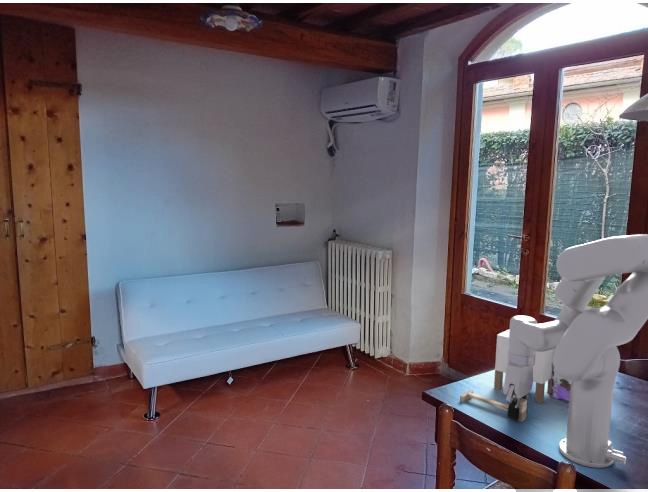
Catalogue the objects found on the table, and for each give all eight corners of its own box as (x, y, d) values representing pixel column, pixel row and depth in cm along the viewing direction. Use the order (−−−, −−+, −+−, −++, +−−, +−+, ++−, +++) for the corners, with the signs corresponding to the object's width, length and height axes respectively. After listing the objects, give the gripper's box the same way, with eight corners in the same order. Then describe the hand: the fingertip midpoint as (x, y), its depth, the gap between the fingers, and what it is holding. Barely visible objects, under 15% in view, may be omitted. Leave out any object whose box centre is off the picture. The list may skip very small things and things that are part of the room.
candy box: (550, 397, 159) (553, 349, 157) (556, 391, 164) (559, 345, 161) (596, 411, 150) (601, 360, 148) (601, 405, 154) (606, 355, 152)
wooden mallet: (528, 417, 146) (529, 398, 145) (519, 423, 142) (520, 404, 141) (469, 396, 160) (470, 378, 159) (459, 401, 156) (460, 384, 155)
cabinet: (555, 392, 163) (559, 338, 161) (539, 404, 154) (544, 347, 152) (509, 378, 175) (513, 327, 172) (492, 388, 166) (495, 335, 163)
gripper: (521, 347, 151) (517, 402, 154) (495, 361, 140) (492, 420, 142) (545, 354, 146) (541, 410, 148) (521, 369, 134) (516, 430, 137)
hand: (517, 415), depth 145 cm, fingers open, 4 cm apart
